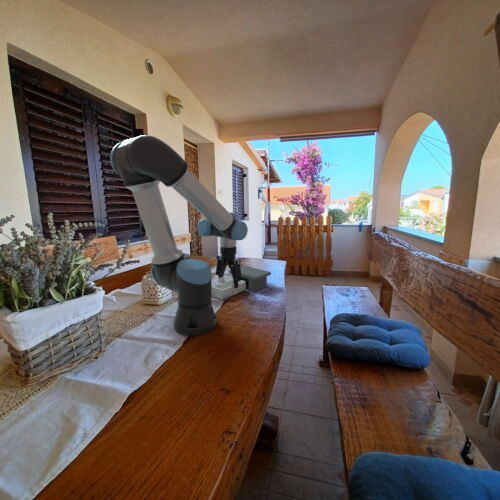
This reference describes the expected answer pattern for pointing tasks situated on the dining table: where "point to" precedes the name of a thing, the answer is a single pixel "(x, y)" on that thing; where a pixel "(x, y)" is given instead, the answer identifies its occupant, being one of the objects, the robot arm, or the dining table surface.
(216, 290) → the pale green open box
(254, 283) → the grey drawer cabinet
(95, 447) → the dining table surface
